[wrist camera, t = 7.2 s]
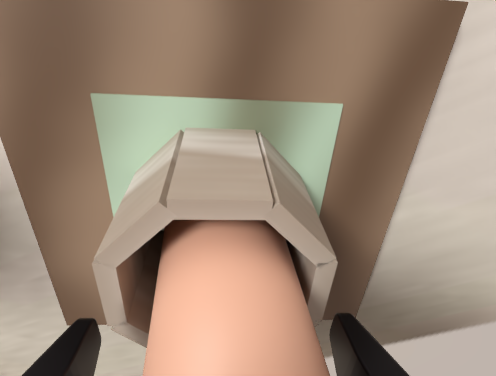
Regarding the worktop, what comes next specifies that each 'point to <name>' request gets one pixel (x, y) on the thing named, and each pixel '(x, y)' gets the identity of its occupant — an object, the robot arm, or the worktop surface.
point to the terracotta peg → (229, 304)
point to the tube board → (214, 133)
